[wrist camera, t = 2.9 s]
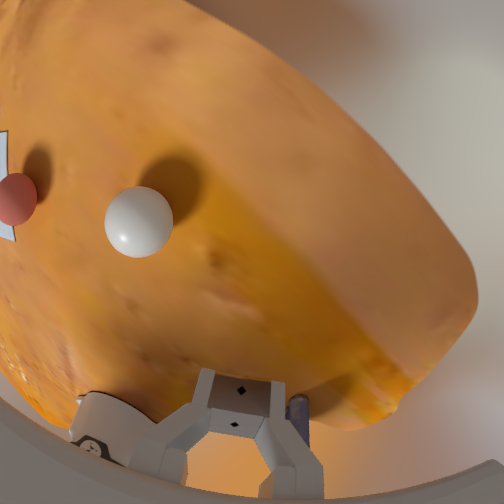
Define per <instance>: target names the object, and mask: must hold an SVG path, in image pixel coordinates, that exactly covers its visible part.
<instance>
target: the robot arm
mask: <svg viewBox="0 0 504 504" xmlns="http://www.w3.org/2000/svg"><path fill="white" fill-rule="evenodd" d="M76 401H77V403H78V404H79V407H78V410H77V412H76V414H75V417H74V419H73V422H72V424H71V427H70V429H69V432H70V435H71V437H72V442H68V441H66V440H64V439H63V438H61V437H59V436H57V435H56V434H54V433H52V432H51V431H49V430H47V429H46V428H44V427H42V426H41V425H39V424H38V423H36V422H34V421H33V420H31V419H30V418H28V417H27V416H26V415H24V414H23V413H21V412H20V411H18V410H17V409H16V408H14V407H13V406H11V405H10V404H9V403H7V402H6V401H5V400H3V399H2V398H1V397H0V504H504V466H503V465H502V464H501V463H499V462H498V461H496V460H494V459H491V460H487V461H485V462H483V463H481V464H478V465H476V466H473V467H471V468H469V469H466V470H464V471H461V472H458V473H456V474H453V475H450V476H447V477H444V478H441V479H437V480H434V481H431V482H427V483H424V484H420V485H416V486H412V487H408V488H404V489H399V490H394V491H389V492H384V493H378V494H371V495H364V496H357V497H347V498H336V499H324V476H323V475H324V474H323V466H322V465H321V463H320V462H319V461H318V459H317V458H316V457H315V455H314V454H313V452H312V451H311V450H310V448H309V447H308V446H307V444H306V443H305V442H304V440H303V439H302V437H301V436H300V435H299V433H298V432H297V430H296V429H295V428H294V426H293V425H292V423H291V422H290V421H289V420H285V382H280V381H273V380H268V379H261V378H255V377H248V376H240V375H235V374H230V373H226V372H221V371H217V370H213V369H208V368H204V367H202V369H201V371H200V374H199V377H198V381H197V384H196V388H195V391H194V395H193V398H192V402H191V403H186V404H184V405H183V406H182V407H180V408H179V409H177V410H176V411H175V412H173V413H172V414H170V415H169V416H168V417H166V418H165V419H163V420H162V421H161V422H159V423H158V424H155V423H154V422H152V421H151V420H150V419H149V418H147V417H146V416H145V415H144V414H142V413H141V412H140V411H138V410H137V409H135V408H133V407H132V406H130V405H128V404H126V403H125V402H123V401H120V400H118V399H116V398H114V397H111V396H109V395H106V394H102V393H97V392H90V393H88V394H87V395H86V396H78V398H77V400H76ZM208 431H211V432H217V433H223V434H229V435H235V436H240V437H246V438H252V439H254V441H255V443H256V445H257V447H258V449H259V451H260V452H261V454H262V456H263V458H264V460H265V462H266V464H267V466H268V467H269V469H270V471H271V474H270V475H269V476H268V477H267V478H266V479H265V480H264V481H263V482H262V483H261V484H260V485H259V494H258V498H254V497H244V496H236V495H229V494H223V493H217V492H211V491H206V490H201V489H196V488H191V487H187V486H185V485H186V480H187V475H188V468H187V467H188V466H187V454H186V452H187V451H189V450H190V449H191V448H192V447H193V446H194V445H195V444H196V443H197V442H198V441H199V440H201V438H203V437H204V436H205V435H206V434H207V433H208Z"/></svg>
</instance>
